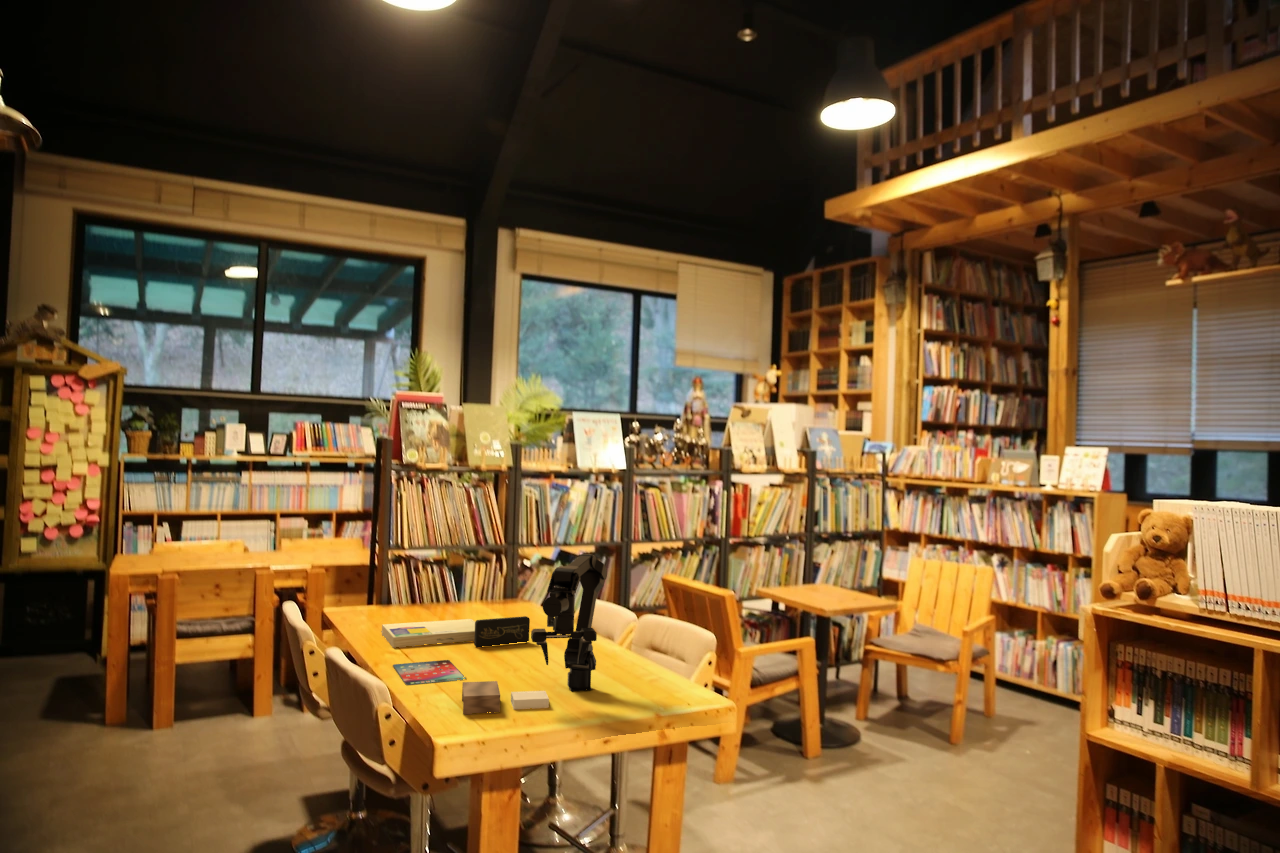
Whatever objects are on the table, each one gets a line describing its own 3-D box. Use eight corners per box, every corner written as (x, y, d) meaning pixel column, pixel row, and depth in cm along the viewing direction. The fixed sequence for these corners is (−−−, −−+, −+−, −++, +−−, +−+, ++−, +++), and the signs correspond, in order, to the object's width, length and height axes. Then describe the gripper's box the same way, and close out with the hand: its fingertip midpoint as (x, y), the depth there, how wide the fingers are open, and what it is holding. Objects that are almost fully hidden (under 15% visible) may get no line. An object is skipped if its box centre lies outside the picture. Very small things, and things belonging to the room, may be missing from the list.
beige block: (544, 700, 243) (545, 690, 243) (548, 709, 236) (548, 698, 236) (510, 702, 241) (511, 691, 241) (513, 710, 233) (513, 700, 233)
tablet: (405, 687, 253) (406, 684, 253) (392, 666, 276) (392, 664, 276) (467, 681, 262) (467, 678, 262) (449, 661, 284) (449, 659, 284)
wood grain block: (496, 698, 243) (497, 681, 243) (499, 713, 229) (500, 694, 230) (462, 699, 241) (462, 682, 241) (463, 714, 227) (463, 696, 227)
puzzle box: (488, 642, 316) (471, 629, 337) (488, 630, 316) (472, 617, 337) (391, 650, 300) (380, 635, 321) (391, 637, 300) (381, 623, 321)
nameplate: (527, 642, 316) (528, 616, 316) (528, 643, 314) (529, 617, 314) (474, 647, 305) (475, 620, 306) (475, 648, 304) (476, 621, 304)
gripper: (591, 605, 251) (590, 656, 251) (530, 606, 248) (528, 658, 247) (597, 612, 241) (596, 666, 240) (533, 613, 237) (531, 668, 236)
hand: (562, 664), depth 241 cm, fingers open, 9 cm apart
